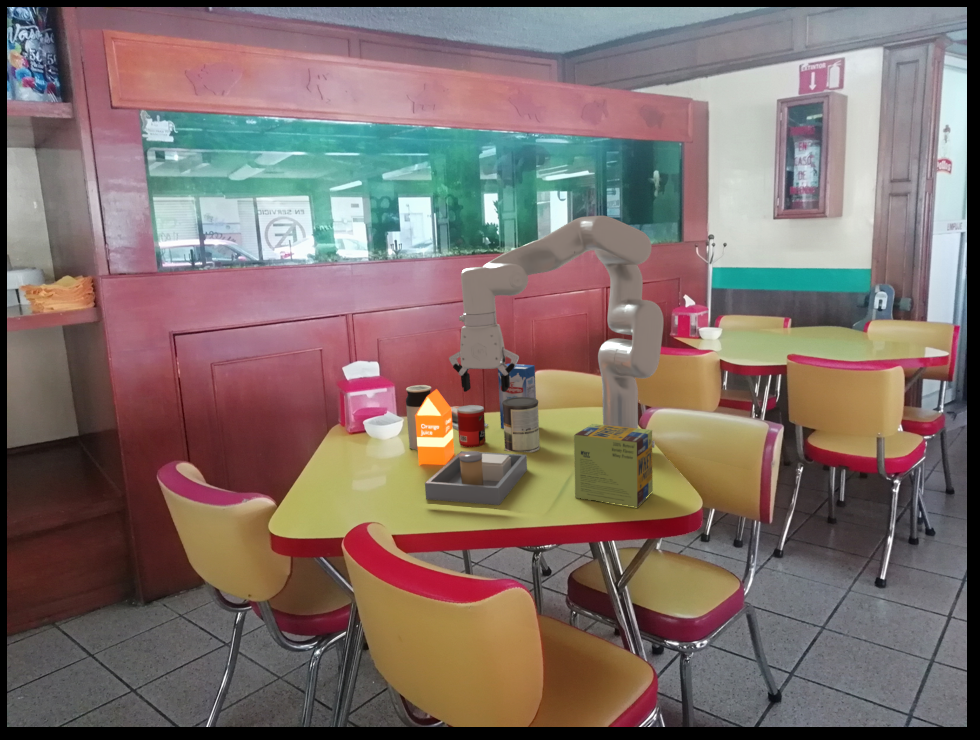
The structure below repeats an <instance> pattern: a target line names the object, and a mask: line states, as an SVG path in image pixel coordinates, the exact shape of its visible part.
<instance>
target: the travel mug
mask: <svg viewBox="0 0 980 740" xmlns="http://www.w3.org/2000/svg"><path fill="white" fill-rule="evenodd" d="M431 390H432V386H430V385H426V384H417V385H411V386H408V387H406V389H405V391H406V394H407V396H406V399H405V407H406V417H407V418H406V420H407V431H408V433H407V434H408V444H409V445H408V446H409V448H410V449H412V450H415V451H418V446H417V430H416V417H415V415H416V414H417V412H418V411H419V409H420V407H421V406H422V404H423V402H424V401H425V399H426V397H427V396H428V395H429V394H431Z"/></svg>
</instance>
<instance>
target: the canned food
mask: <svg viewBox="0 0 980 740" xmlns="http://www.w3.org/2000/svg"><path fill="white" fill-rule="evenodd" d="M458 407H459V408H458V409H457V416H458V430H457V431H458V442H459V445H460V446H461V447H464V448H477V447H482V446H484V445H485V444H486V442H487V441H486V427H485V423H486V421H485V408H484V406H481V405H477V404H475V405H474V404H469V405H462V406H458Z"/></svg>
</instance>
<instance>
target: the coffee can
mask: <svg viewBox="0 0 980 740" xmlns="http://www.w3.org/2000/svg"><path fill="white" fill-rule="evenodd" d="M502 405H503V420H504V429H503V435H504V438H503V439H504V451H505V452H515V453H517V452H518V453H535V452H538V451H539V450H540V448H541V446H540V424H539V423H540V422H539V400H538V399H537V398H536V399H535V398H530V397H516V398H510V399H506V400H504V401H503V402H502Z"/></svg>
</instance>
